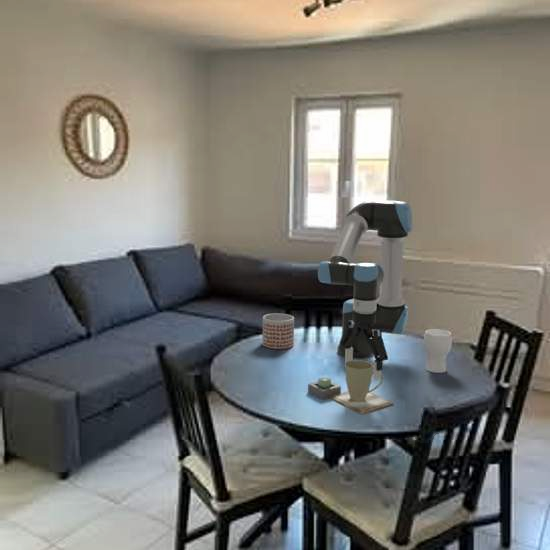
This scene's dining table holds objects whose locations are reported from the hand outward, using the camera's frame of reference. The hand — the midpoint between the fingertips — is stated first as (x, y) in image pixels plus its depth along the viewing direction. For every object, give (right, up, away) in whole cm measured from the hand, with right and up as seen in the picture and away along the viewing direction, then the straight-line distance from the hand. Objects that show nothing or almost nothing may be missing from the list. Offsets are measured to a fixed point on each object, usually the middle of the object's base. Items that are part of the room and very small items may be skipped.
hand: (362, 372), depth 189 cm
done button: (-12, -6, +7) cm, 15 cm away
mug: (0, -9, +1) cm, 9 cm away
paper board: (0, -10, +1) cm, 10 cm away
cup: (+34, -5, +33) cm, 47 cm away
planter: (-28, +1, +62) cm, 68 cm away
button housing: (-12, -8, +8) cm, 17 cm away
